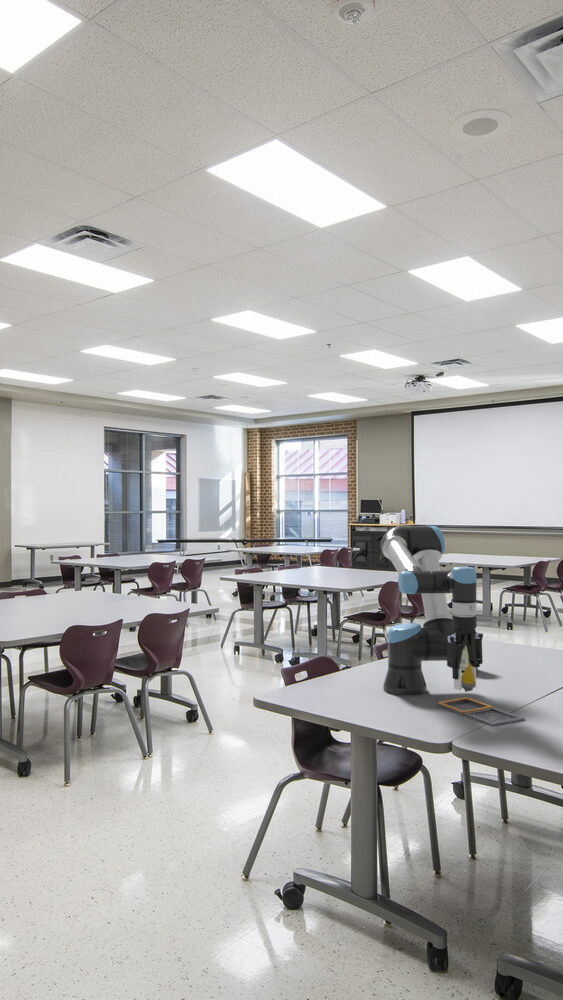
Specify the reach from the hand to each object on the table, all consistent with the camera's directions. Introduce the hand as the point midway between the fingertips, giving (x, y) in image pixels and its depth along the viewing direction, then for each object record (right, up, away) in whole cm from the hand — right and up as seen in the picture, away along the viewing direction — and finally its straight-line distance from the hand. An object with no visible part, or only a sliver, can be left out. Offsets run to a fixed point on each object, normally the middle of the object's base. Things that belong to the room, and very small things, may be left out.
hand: (465, 687), depth 217 cm
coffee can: (+15, -8, +56) cm, 59 cm away
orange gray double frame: (+3, -7, -6) cm, 9 cm away
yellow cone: (0, -2, 0) cm, 2 cm away
